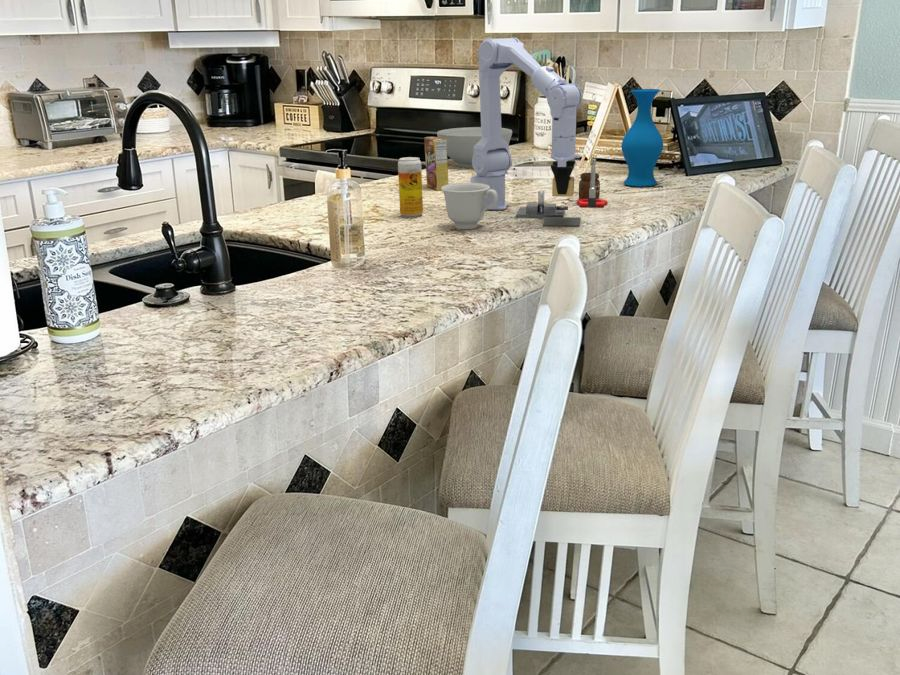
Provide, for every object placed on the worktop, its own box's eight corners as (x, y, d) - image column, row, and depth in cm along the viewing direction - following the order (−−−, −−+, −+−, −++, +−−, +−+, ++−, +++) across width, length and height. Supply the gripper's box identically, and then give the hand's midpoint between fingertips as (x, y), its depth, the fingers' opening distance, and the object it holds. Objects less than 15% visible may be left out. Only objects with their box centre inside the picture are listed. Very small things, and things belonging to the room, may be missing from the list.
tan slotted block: (552, 196, 207) (552, 180, 205) (553, 192, 211) (553, 176, 210) (572, 196, 206) (573, 180, 205) (573, 192, 211) (574, 176, 209)
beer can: (406, 219, 220) (403, 161, 215) (396, 215, 225) (393, 158, 220) (426, 216, 222) (424, 158, 217) (417, 212, 227) (414, 156, 222)
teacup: (485, 235, 200) (484, 193, 197) (432, 229, 207) (431, 189, 204) (509, 225, 210) (509, 185, 206) (458, 220, 217) (457, 181, 214)
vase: (669, 184, 257) (675, 89, 247) (640, 189, 250) (645, 92, 241) (640, 179, 266) (644, 87, 257) (611, 184, 260) (615, 90, 250)
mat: (542, 226, 208) (542, 224, 208) (545, 218, 216) (545, 216, 216) (579, 226, 206) (579, 225, 206) (580, 218, 215) (580, 217, 214)
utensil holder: (575, 199, 238) (576, 157, 234) (582, 196, 244) (584, 154, 239) (595, 201, 236) (597, 157, 232) (602, 197, 241) (604, 154, 237)
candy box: (425, 186, 265) (423, 137, 259) (438, 185, 266) (436, 136, 261) (436, 191, 257) (434, 140, 252) (449, 189, 259) (447, 139, 253)
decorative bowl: (522, 161, 309) (522, 127, 305) (496, 172, 287) (496, 136, 282) (455, 158, 320) (455, 126, 316) (425, 169, 297) (424, 134, 293)
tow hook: (577, 202, 237) (576, 207, 228) (578, 155, 233) (577, 159, 225) (607, 203, 236) (607, 208, 227) (609, 156, 232) (609, 159, 223)
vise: (516, 217, 218) (516, 194, 216) (520, 209, 227) (520, 187, 225) (566, 218, 216) (567, 195, 214) (568, 210, 225) (569, 188, 223)
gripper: (579, 139, 196) (578, 197, 201) (581, 132, 210) (579, 187, 214) (549, 139, 198) (548, 197, 202) (553, 132, 211) (552, 186, 216)
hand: (562, 192), depth 209 cm, fingers closed on tan slotted block, 5 cm apart
